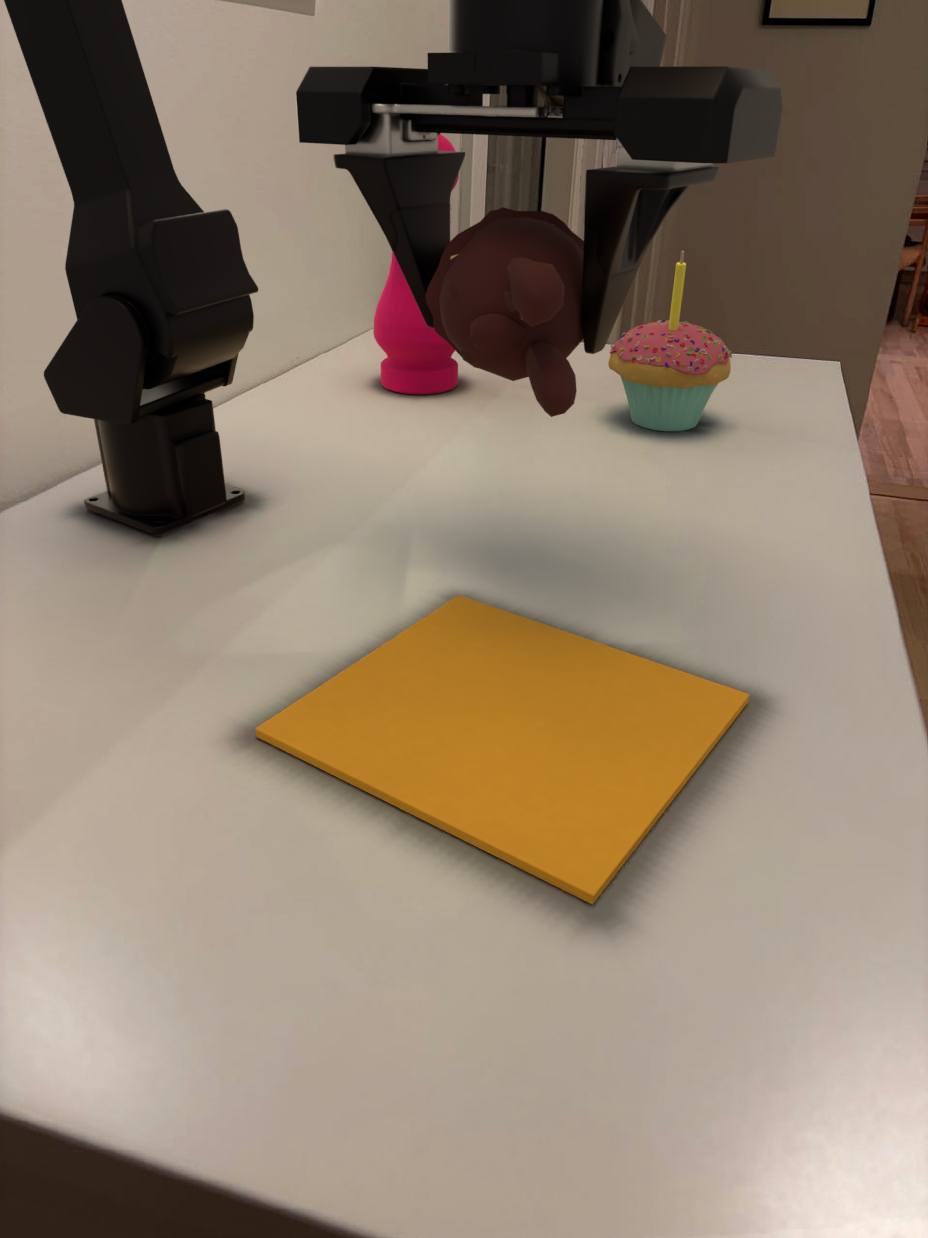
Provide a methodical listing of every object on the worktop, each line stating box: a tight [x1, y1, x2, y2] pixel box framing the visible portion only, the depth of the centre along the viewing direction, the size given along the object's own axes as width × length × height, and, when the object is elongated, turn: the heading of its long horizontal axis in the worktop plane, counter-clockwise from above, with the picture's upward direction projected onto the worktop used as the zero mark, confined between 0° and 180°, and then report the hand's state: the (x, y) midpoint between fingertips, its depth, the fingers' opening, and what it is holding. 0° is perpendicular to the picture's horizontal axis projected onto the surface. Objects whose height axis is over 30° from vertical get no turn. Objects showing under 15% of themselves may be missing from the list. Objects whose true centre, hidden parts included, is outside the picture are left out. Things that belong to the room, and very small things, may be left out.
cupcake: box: [608, 250, 733, 432], centre depth 65 cm, size 9×8×12 cm
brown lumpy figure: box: [425, 206, 584, 418], centre depth 40 cm, size 7×7×15 cm
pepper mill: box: [372, 133, 460, 395], centre depth 71 cm, size 7×7×20 cm
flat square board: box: [254, 594, 750, 905], centre depth 36 cm, size 14×13×1 cm
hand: (512, 338), depth 40 cm, fingers closed on brown lumpy figure, 7 cm apart
